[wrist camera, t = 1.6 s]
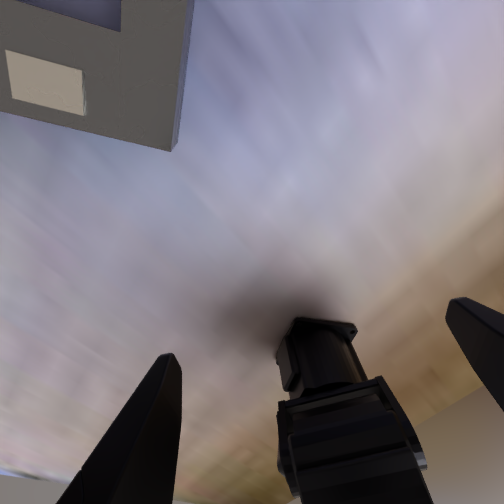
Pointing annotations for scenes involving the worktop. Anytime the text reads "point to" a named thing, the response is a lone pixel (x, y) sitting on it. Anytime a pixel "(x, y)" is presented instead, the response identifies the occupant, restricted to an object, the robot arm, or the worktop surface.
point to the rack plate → (98, 69)
